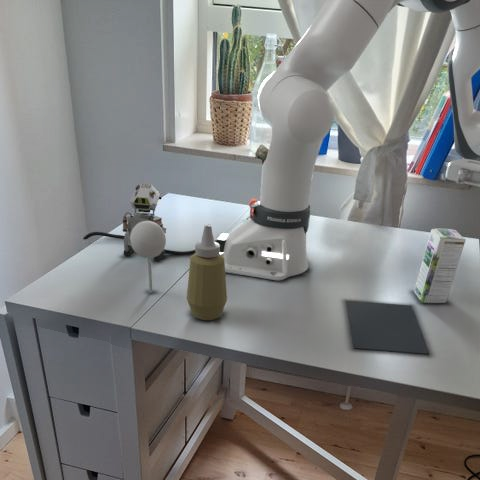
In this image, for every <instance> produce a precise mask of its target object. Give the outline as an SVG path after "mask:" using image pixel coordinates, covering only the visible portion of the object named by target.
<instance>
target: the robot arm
mask: <svg viewBox="0 0 480 480" xmlns="http://www.w3.org/2000/svg"><path fill="white" fill-rule="evenodd" d="M396 6H399V7H403V8H408V9H410V10H413V11H415V12H419V13H433V14H443V13H446V12H450V14H451V20H452V23H453V27H454V30H455V45H454V47H453V48H452V49H451V51H450V53H449V55H448V60H447V80H448V89H449V97H450V104H451V113H452V121H453V140H454V141H453V142H454V149H455V152H456V153H457V155H458V156H460V157H461V158H459V159H454V160H451V161H449V162H448V164H447V166H446V170H445V178H446V179H447V180H449V181H453V182H455V184H460V185H464V184H466V185H471V186H475V187H479V188H480V160H477V159H480V110H476V109H475V107H474V106H475V105H474V96H473V95H474V94H473V85H472V84H473V83H472V78H473V76H474V75H475V74H476V73H478V72H479V71H480V0H325V1H324V3H323V5H322V6H321V8H320V10H319V11H318V13H317V14H316V16H315V18H314V20H313V21H312V23H311V25H309V27H308V29H307V30H306V31H305V33H304V34H303V36H302V37H301V38H300V39H299V41H298V42H297V43H296V45H294V47H293V48H292V49H291V50H290V51H289V52H288V53H287V55H286V56H284V57H285V58H283V60H282V61H281V62H280V64H279V65H278V66H277V67H276V69H274V71H273V72H272V73H271V74H269V75H268V76H267V77H266V78H265V79H264V80H263V82H262V83H261V85H260V87H259V89H258V94H257V103H258V108H259V111H260V115H261V117H262V119H263V120H264V122H265V123H266V124H267V125H268V126H269V127H270V128H271V139H270V143H269V147H268V149H269V151H268V155H267V158H266V160H265V161H264V163H263V166H262V167H261V181H260V196H259V200H258V199H257V198H254V197H253V198H251V199H250V201H249V206H248V207H249V208H250V209H249V210H250V211H249V215H250V218H249V219H248V220H247V219H246V220H244V221H243V222H241V223H240V224H239V225H237V226H236V227H234V228H232V229H231V230H230V232H228V233H226V232H221V233H220V235H219V236H218V237H217V238H216V240H215V239H214V242H217V243H218V244H219V245H220V254H221V255H222V256H223V257H224V260H225V273H227V274H234V275H240V276H247V277H254V278H259V279H265V280H270V281H271V280H273V281H278V282H279V281H283V280H285V279H288V278H289V277H293V276H298V275H301V274H303V273H306V271H307V270H308V269H309V263H308V253H307V232H308V230H309V227H310V219H311V205H310V199H311V192H312V191H311V190H312V184H313V178H314V177H313V176H314V169H315V167H316V166H315V165H316V162H317V159H318V156H319V152H320V150H321V147H322V144H323V141H324V139H325V138H326V136H327V135H328V134H329V133H330V131H331V129H332V127H333V124H334V119H335V107H334V104H333V102H332V100H331V97H330V96H329V94H328V90H329V89H330V88H331V87H333V85H335V84H336V82H337V81H338V80H339V79H340V78H342V77H343V76H344V75H346V74H347V73H349V72H350V71H351V70H352V69H353V68H354V67H355V65H356V63H357V62H358V61H359V59H360V57H361V56H362V54H363V53H364V52H365V50H366V48H367V47H368V46H369V44H370V42H371V41H372V40H373V38H374V37H375V35H376V33H377V32H378V30H379V29H380V27H381V25H382V24H383V22H384V21H385V19H386V17H387V16H388V14H389V13H390V12H391V11H392V10H393V9H394V8H395V7H396ZM94 236H102V237H107V238H112V239H120V240H124V237H125V235H121V234H113V233H108V232H104V231H92V232H89V233H87V234H85V235H84V236H83V238H82V240H84V241H85V240H88V239H89V238H92V237H94ZM164 250H165V254H167V255H168V254H169V255H174V256H188V255H193V254H195V249H193V250H187V251H179V250H171V249H165V248H164Z"/></svg>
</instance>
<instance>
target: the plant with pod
mask: <svg viewBox="0 0 480 480" xmlns="http://www.w3.org/2000/svg"><path fill="white" fill-rule="evenodd" d="M268 151H269V147H267V146H265V145H264V144H260V145H259V146H258V148H257V149H256V151H255V153H254V155H255V156H254V158H253V159H252V160H253V161H255V160H256V159H258V160H261V162H262V163H261V164H262V166H263V163H264V162H265V160H266V158H267V155H268ZM249 218H250V214H249V215H248V216H247V217H246V220H248V219H249Z"/></svg>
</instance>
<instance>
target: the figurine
mask: <svg viewBox="0 0 480 480" xmlns="http://www.w3.org/2000/svg"><path fill="white" fill-rule="evenodd" d="M160 195H161V193H160V192H159V191H158V190H157V189H156V187H155V186H153V184H149V183H141V184H138V185H136V186H135V188H134V190H133V192H132V195H131V198H130V201H129V203H130V205H131V207H132V208H133V209H134V213H131V212H129V211H128V212H125V214H124V216H122V232H123V233H124V236H125V237H124V239H123V256H124V257H131V255H132V254H134V253H135V251H134V249H133V248H132V245H131V242H130V235H131V232H132V229H133V228H134V227H135V226H136V225H137V224H138V223H140V222H142V221H152V222H155V223H157V224H158V225H159V226H160V227H161V228H162V229H163V231H164V233H165V234H167V228H166V227H164V224H163V221H162V219H163V218H162V217H160V216H157V215H155V212H156V208H157V206H158V202H159V200H162V197H161V196H160ZM137 211H138V212H137ZM151 211H152V212H151ZM127 214H128V215H127ZM164 249H165V248H164ZM164 249H163V251H162V252H161V253H160V254H159V255H158V256H156V257H153V260H154V261H158V262H160V261H161V260H162V258H164V257H165V255H166V253H165V250H164Z"/></svg>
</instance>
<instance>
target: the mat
mask: <svg viewBox="0 0 480 480" xmlns="http://www.w3.org/2000/svg"><path fill="white" fill-rule="evenodd" d="M345 303H346V309H347V314H348V315H347V316H348V321H349V327H350V335H351V340H352V345H353V349H355V350H367V351H377V352H378V351H379V352H389V353H391V352H393V353H403V354H404V353H405V354H416V355H429V351H428V348H427V345H426V342H425V339H424V337H423V334H422V331H421V329H420V327H419V323H418V320H417V318H416V315H415V313H414V310H413V306H412V305H411V304H397V303H383V302H372V301H371V302H370V301H358V300H345Z"/></svg>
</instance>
